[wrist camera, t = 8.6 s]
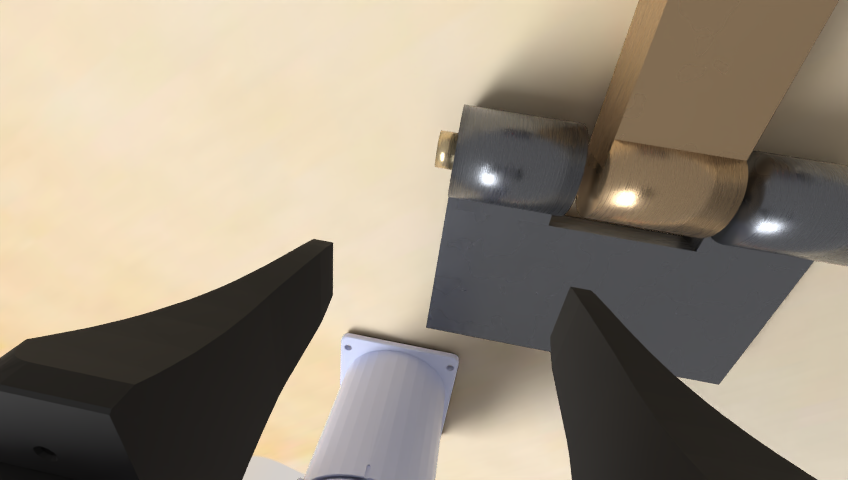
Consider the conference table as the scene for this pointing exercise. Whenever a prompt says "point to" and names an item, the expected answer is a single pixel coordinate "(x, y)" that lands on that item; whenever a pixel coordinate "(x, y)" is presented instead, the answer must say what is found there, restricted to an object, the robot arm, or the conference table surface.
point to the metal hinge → (619, 247)
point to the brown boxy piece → (692, 109)
